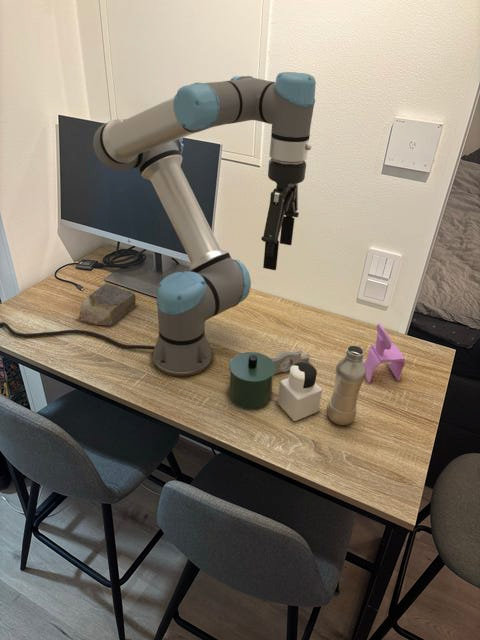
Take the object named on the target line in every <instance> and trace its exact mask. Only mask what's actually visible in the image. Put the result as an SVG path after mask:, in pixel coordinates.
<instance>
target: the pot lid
mask: <svg viewBox="0 0 480 640" xmlns="http://www.w3.org/2000/svg"><path fill="white" fill-rule="evenodd" d="M270 358H271V357H269V356H267V354H263V353H260V352H255V351H245V352H241V353H238V354H236V355H234V356H233V357H232V358H231V360H230V361H229V366H228V367H229V368H228V369H229V371H230V372H231V373H232V375H233V376H234V377H236V378H237V379H239V380H241V381H244V382H249V383H259V382H264V381H266V380H268V379H270V378H271V377H272V376H273V377H274V375H275V374H274V373H275V364H274V362H273V361H272V360H271V359H270ZM230 372H229V373H230Z"/></svg>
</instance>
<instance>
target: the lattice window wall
mask: <svg viewBox="0 0 480 640" xmlns="http://www.w3.org/2000/svg"><path fill="white" fill-rule="evenodd" d="M311 357H312V356H311V354H310V353H308V352H307V353H304V352H303V350H302V349H301V348H300V349H297V350H294V351H292V350H283V351H282V352H280V353H279V354H278V355H275V356H272V357H271V356H270V357H269V358H270V359H271V360H272V361H273V362H274V364H275V373H274V375H276V374H279V373H287V372H290V368H291V366H292V365H294V364H295V363H299V362H305V363H308V364H310V363H309V362H310V358H311Z"/></svg>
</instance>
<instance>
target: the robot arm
mask: <svg viewBox="0 0 480 640" xmlns="http://www.w3.org/2000/svg"><path fill="white" fill-rule="evenodd" d="M316 82H317V81H316V78H315V77H314V76H313V75H311V74H309V73H305V72H295V71H283V72H279V73H277V75H276V77H275V81H272V80H266V79H263V78H262V79H261V78H256V77H254V76H252V75H235V76H233V77H232V78H231V79H229V80H222V81H213V82H211V81H209V82H194V83H191V84H186V85H182V86H181V87H180V88H178V90H177V92H176V94H174V96H173V97H170V98H168V99H167V100H164V101H162V102H160V103H157V104H156V105H153V106H151V107H150V108H147V109H145V110H143V111H141V112H139V113H137V114H135V115H132V116H130V117H128V118H125V119H112V120H111V121H108V122H106V123H104V124H101V126H99V127H98V128H97V129H96V131H95V132H94V136H93V140H92V145H93V150H94V153H95V155H96V157H97V158H98V160H99V161H100V162H101V163H102V164H103V165H105V166H106V167H108V168H110V169H113V170H117V171H123V170H131V169H138V171H139V173H140V175H141V177H142V178H143V179H146V180H148V181H150V182H151V184H152V186H153V188H154V191H155V192H156V194H157V197H158V198H159V200H160V203H161V204H162V207H163V209H164V210H165V213H166V214H167V216H168V219H169V220H170V223H171V225H172V227H173V229H174V231H175V233H176V235H177V237H178V239H179V241H180V243H181V245H182V247H183V249H184V251H185V254H186V255H187V257H188V259H189V262H190V266H189V270H185V271H175V272H172V273H171V274H169V275H166V276H165V277H164V278H163V279H162V280H161V281H160V282H159V284H158V285H157V290H156V306H157V321H158V336H157V339H156V342H155V345H143V344H124V343H120V342H118V341H116V340H114V339H112V338H111V337H109V336H106V335H103V334H100V333H98V332H97V333H96V332H94V331H90V330H85V329H84V330H83V329H67V330H66V329H65V330H57V331H44V332H43V331H42V332H35V333H21V332H17V331H15V330H13V329H12V327H11V326H9V324H8V323H6V322H4V321H3V322H0V327H4V328H5V329H6V330H7V331H8V332H9V334H12V335H13V336H16V337H19V338H36V337H46V336H47V337H49V336H59V335H66V334H81V335H88V336H91V337H96V338H99V339H101V340H104V341H107V342H108V343H110V344H113V345H115V346H117V347H119V348H122V349H127V350H128V349H129V350H135V349H136V350H151V351H152V350H153V353H152V361H153V365H154V366H155V368H156V369H157V370H158V371H160V372H161V373H163V374H165V375H168V376H171V377H177V378H178V377H180V378H181V377H182V378H183V377H191V376H195V375H198V374H200V373H202V372H204V371H205V370H206V369H207V368H208V367H209V366H210V364H211V362H212V349H211V345H210V344H209V341H208V338H207V336H206V332H205V331H206V330H205V329H206V322H207V320H209V319H212V318H213V317H216V316H218V315H220V314H221V313H223V312H225V311H228V310H229V309H231V308H235V307H237V306H238V305H239V304H240V303H242V302H244V301H245V300H246V299H247V298H248V296H249V294H250V291H251V288H252V287H251V285H252V280H251V276H250V272H249V270H248V268H247V266H246V264H244V263H243V262H241V261H240V260H239V259H234V258H232V256H231V255H230V252H229V251H227V250H224V249H222V248H221V247H220V245H219V243H218V241H217V239H216V236H215V235H214V232H213V230H212V228H211V226H210V224H209V222H208V221H207V218H206V216H205V214H204V212H203V210H202V208H201V206H200V203H199V202H198V199H197V198H196V195H195V193H194V192H193V189H192V187H191V186H190V183H189V181H188V179H187V177H186V175H185V173H184V171H183V168H182V166H181V165H182V162H183V159H184V158H183V156H182V153H183V151H184V144H183V141H184V138H186V137H188V136H191V135H193V134H196V133H199V132H203V131H205V130H209V129H212V128H214V127H220V126H225V125H231V124H237V123H242V122H248V121H256V122H262V123H265V124H269V125H271V131H270V132H271V134H270V142H269V143H270V144H269V153H268V154H269V155H268V156H269V157H270V159H269V160H268V169H267V177H268V179H269V180H270V181H272V182H274V183H275V184H276V186H275V188H273V190H272V191H271V192H270V200H269V205H268V209H267V216H266V221H265V225H264V231H263V235H262V236H261V239H260V240H261V241H262V242H264V254H263V264H262V265H263V266H262V268H263V269H267V270H270V271H276V270H277V266H278V255H279V248H280V247H279V246H280V244H281V245H286V246H292V243H293V235H294V227H295V218H299V215H300V213H299V212H298V210H299V209H298V208H299V206H298V203H299V202H298V201H299V199H298V198H299V193H298V191H299V184H301V183H302V182H304V180H305V178H306V170H307V162H306V160H307V158H308V153H309V151H310V150H312V145H311V144H309V142H310V138H311V127H312V121H313V120H312V119H313V113H314V107H315V104H316V98H315V97H316V96H315V95H316V85H317V83H316Z"/></svg>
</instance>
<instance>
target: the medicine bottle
mask: <svg viewBox="0 0 480 640" xmlns="http://www.w3.org/2000/svg"><path fill="white" fill-rule="evenodd" d="M317 376H318V371H317V369H316V368H315V366H314V365H313V364H310V363H305V362H299V363H295V364H294V365H292V366H291V368H290V370H289V374H288V377H287V378H285V379H281V380H280V381H279V387H278V395H277V404H278V405H279V406H280V408H282V410H283V411H284V412H285V414H287V415H288V416H289V418H291V420H292V421H294V422H297V421H299V420H302V419H303V418H307V417H309V416H312V415H314V414H316V413H318V412H319V408H320V403H321V399H322V395H323V394H322V393H323V389H322V388H321V386H319V384H317V383H316V381H317Z"/></svg>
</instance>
